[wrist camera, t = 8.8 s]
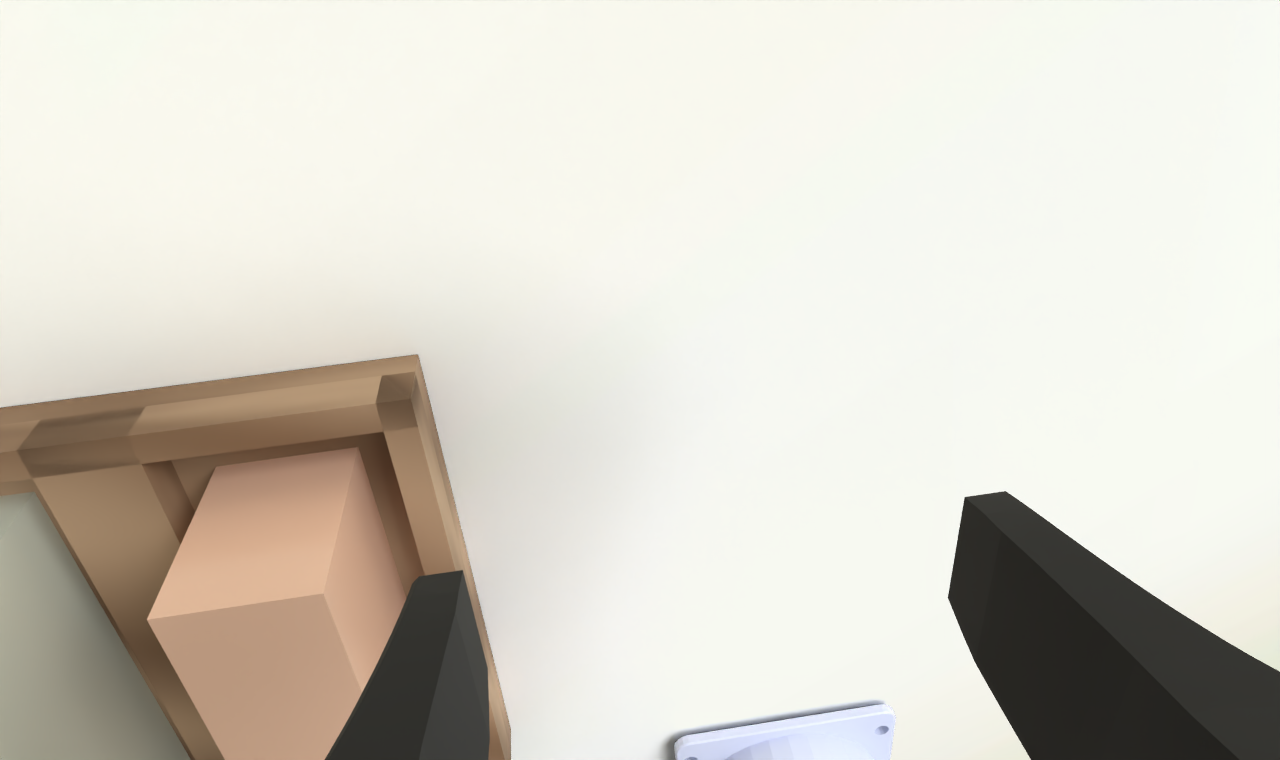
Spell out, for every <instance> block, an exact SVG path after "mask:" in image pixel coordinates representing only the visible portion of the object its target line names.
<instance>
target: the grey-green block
mask: <svg viewBox="0 0 1280 760" xmlns="http://www.w3.org/2000/svg"><path fill="white" fill-rule="evenodd" d="M0 760H191V759H190V757H189V756H188V754H187V752H186V750H185V749H184V747H183V745H182V744H181V742H180V740H179V738H178V737H177V735H176V733H175V732H174V730H173V728H172V726H171V725H170V723H169V721H168V720H167V718H166V716H165V714H164V713H163V711H162V709H161V708H160V706H159V704H158V702H157V701H156V699H155V697H154V696H153V694H152V692H151V691H150V689H149V687H148V685H147V684H146V682H145V680H144V679H143V677H142V675H141V673H140V672H139V670H138V668H137V667H136V665H135V663H134V661H133V660H132V658H131V656H130V655H129V653H128V651H127V649H126V648H125V646H124V644H123V643H122V641H121V639H120V637H119V636H118V634H117V632H116V631H115V629H114V627H113V625H112V624H111V622H110V620H109V619H108V617H107V615H106V613H105V612H104V610H103V608H102V607H101V605H100V603H99V601H98V600H97V598H96V596H95V595H94V593H93V591H92V589H91V588H90V586H89V584H88V583H87V581H86V579H85V577H84V576H83V574H82V572H81V571H80V569H79V567H78V565H77V564H76V562H75V560H74V559H73V557H72V555H71V553H70V552H69V550H68V548H67V547H66V545H65V543H64V541H63V540H62V538H61V536H60V535H59V533H58V531H57V529H56V528H55V526H54V524H53V523H52V521H51V519H50V517H49V516H48V514H47V512H46V511H45V509H44V507H43V505H42V504H41V502H40V500H39V499H38V497H37V495H36V493H35V492H28V493H20V494H13V495H5V496H0Z"/></svg>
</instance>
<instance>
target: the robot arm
mask: <svg viewBox="0 0 1280 760" xmlns="http://www.w3.org/2000/svg"><path fill="white" fill-rule="evenodd" d="M948 599H949V601H950V604H951V606H952V609H953V611H954V614H955V616H956V619H957V621H958V624H959V626H960V629H961V631H962V633H963V636H964V638H965V640H966V643H967V645H968V647H969V649H970V652H971V654H972V656H973V659H974V661H975V663H976V665H977V667H978V668H979V670H980V672H981V674H982V676H983V677H984V679H985V681H986V683H987V684H988V686H989V688H990V690H991V691H992V693H993V695H994V697H995V698H996V700H997V702H998V704H999V705H1000V707H1001V709H1002V711H1003V712H1004V714H1005V716H1006V717H1007V719H1008V721H1009V723H1010V724H1011V726H1012V728H1013V729H1014V731H1015V733H1016V735H1017V736H1018V738H1019V740H1020V741H1021V743H1022V745H1023V747H1024V748H1025V750H1026V752H1027V753H1028V755H1029V757H1030V759H1031V760H1280V672H1279V671H1277V670H1276V669H1274V668H1272V667H1270V666H1268V665H1266V664H1265V663H1263V662H1261V661H1259V660H1257V659H1255V658H1254V657H1252V656H1250V655H1248V654H1247V653H1245V652H1243V651H1242V650H1240V649H1238V648H1236V647H1235V646H1233V645H1231V644H1230V643H1228V642H1226V641H1224V640H1223V639H1221V638H1220V637H1218V636H1216V635H1215V634H1213V633H1212V632H1210V631H1208V630H1207V629H1205V628H1203V627H1202V626H1200V625H1199V624H1197V623H1195V622H1194V621H1192V620H1191V619H1189V618H1187V617H1186V616H1184V615H1183V614H1181V613H1179V612H1178V611H1176V610H1175V609H1173V608H1172V607H1170V606H1169V605H1167V604H1166V603H1164V602H1162V601H1161V600H1159V599H1158V598H1156V597H1155V596H1153V595H1152V594H1150V593H1149V592H1147V591H1146V590H1144V589H1143V588H1141V587H1140V586H1138V585H1137V584H1136V583H1134V582H1133V581H1131V580H1130V579H1128V578H1127V577H1125V576H1124V575H1122V574H1121V573H1120V572H1118V571H1117V570H1115V569H1114V568H1112V567H1111V566H1109V565H1108V564H1107V563H1105V562H1104V561H1102V560H1101V559H1100V558H1098V557H1097V556H1095V555H1094V554H1093V553H1091V552H1090V551H1088V550H1087V549H1086V548H1084V547H1083V546H1081V545H1080V544H1079V543H1077V542H1076V541H1074V540H1073V539H1072V538H1070V537H1069V536H1068V535H1066V534H1065V533H1063V532H1062V531H1061V530H1059V529H1058V528H1056V527H1055V526H1054V525H1052V524H1051V523H1050V522H1048V521H1047V520H1045V519H1044V518H1043V517H1041V516H1040V515H1039V514H1037V513H1036V512H1034V511H1033V510H1032V509H1030V508H1029V507H1027V506H1026V505H1025V504H1023V503H1022V502H1020V501H1019V500H1018V499H1016V498H1015V497H1013V496H1012V495H1010V494H1009V493H1007V492H1006V491H1004V492H998V493H991V494H984V495H977V496H970V497H965V499H964V505H963V511H962V517H961V523H960V529H959V535H958V541H957V547H956V553H955V559H954V565H953V571H952V577H951V583H950V589H949V595H948ZM895 721H896V717H895V714H894V711H893V709H892V707H890V706H889V705H886V704H879V705H872V706H866V707H860V708H854V709H848V710H841V711H835V712H829V713H823V714H816V715H810V716H804V717H798V718H791V719H785V720H779V721H773V722H767V723H760V724H754V725H748V726H742V727H735V728H729V729H723V730H717V731H710V732H704V733H698V734H692V735H686V736H683V737H681V738H679V739H678V740H677V741H676V742H675V745H674V749H675V760H890V757H891V750H892V743H893V735H894V728H895ZM489 743H490V726H489V689H488V667H487V663H486V659H485V655H484V651H483V647H482V643H481V639H480V635H479V631H478V628H477V624H476V620H475V616H474V612H473V608H472V604H471V600H470V596H469V592H468V588H467V584H466V580H465V576H464V572H463V570H459V571H453V572H446V573H439V574H432V575H425V576H419V577H418V578H417V579H416V580H415V581H414V582H413V583H412V586H411V588H410V591H409V593H408V596H407V598H406V601H405V603H404V606H403V608H402V610H401V613H400V615H399V617H398V620H397V622H396V624H395V626H394V629H393V631H392V633H391V635H390V637H389V640H388V642H387V644H386V646H385V648H384V650H383V652H382V654H381V656H380V659H379V661H378V663H377V665H376V667H375V669H374V671H373V672H372V674H371V676H370V678H369V680H368V682H367V684H366V686H365V688H364V690H363V692H362V694H361V696H360V698H359V700H358V702H357V703H356V705H355V707H354V709H353V711H352V713H351V715H350V717H349V718H348V720H347V722H346V724H345V726H344V727H343V729H342V731H341V732H340V734H339V736H338V738H337V739H336V741H335V743H334V744H333V746H332V748H331V750H330V751H329V753H328V755H327V756H326V758H325V760H488V757H489Z"/></svg>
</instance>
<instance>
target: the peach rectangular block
mask: <svg viewBox="0 0 1280 760" xmlns="http://www.w3.org/2000/svg"><path fill="white" fill-rule="evenodd" d="M405 601H406V596H405V592H404V589H403V586H402V583H401V580H400V577H399V574H398V571H397V567H396V564H395V561H394V558H393V555H392V552H391V549H390V545H389V542H388V539H387V536H386V533H385V530H384V527H383V523H382V520H381V517H380V514H379V511H378V508H377V505H376V501H375V498H374V495H373V492H372V489H371V486H370V483H369V479H368V476H367V473H366V470H365V467H364V464H363V461H362V457H361V454H360V451H359V448H358V447H355V448H347V449H340V450H333V451H326V452H319V453H311V454H304V455H297V456H290V457H283V458H275V459H268V460H261V461H254V462H247V463H239V464H232V465H225V466H218V467H216V468H215V470H214V472H213V474H212V477H211V479H210V481H209V483H208V485H207V488H206V490H205V492H204V494H203V497H202V499H201V501H200V503H199V505H198V508H197V510H196V512H195V514H194V516H193V519H192V521H191V523H190V525H189V527H188V530H187V532H186V534H185V536H184V539H183V541H182V543H181V545H180V547H179V550H178V552H177V554H176V556H175V558H174V561H173V563H172V565H171V567H170V570H169V572H168V574H167V576H166V578H165V581H164V583H163V585H162V587H161V589H160V592H159V594H158V596H157V598H156V600H155V603H154V605H153V607H152V609H151V612H150V614H149V616H148V618H147V621H148V623H149V625H150V626H151V628H152V630H153V632H154V634H155V635H156V637H157V639H158V641H159V643H160V644H161V646H162V648H163V650H164V652H165V653H166V655H167V657H168V659H169V660H170V662H171V664H172V666H173V668H174V669H175V671H176V673H177V675H178V677H179V678H180V680H181V682H182V684H183V686H184V687H185V689H186V691H187V693H188V695H189V696H190V698H191V700H192V702H193V703H194V705H195V707H196V709H197V711H198V712H199V714H200V716H201V718H202V720H203V721H204V723H205V725H206V727H207V729H208V730H209V732H210V734H211V736H212V737H213V739H214V741H215V743H216V745H217V746H218V748H219V750H220V752H221V754H222V755H223V757H224V759H225V760H325V758H326V756H327V755H328V753H329V751H330V750H331V748H332V746H333V744H334V743H335V741H336V739H337V738H338V736H339V734H340V732H341V731H342V729H343V727H344V726H345V724H346V722H347V720H348V718H349V717H350V715H351V713H352V711H353V709H354V707H355V705H356V703H357V702H358V700H359V698H360V696H361V694H362V692H363V690H364V688H365V686H366V684H367V682H368V680H369V678H370V676H371V674H372V672H373V671H374V669H375V667H376V665H377V663H378V661H379V659H380V656H381V654H382V652H383V650H384V648H385V646H386V644H387V642H388V640H389V637H390V635H391V633H392V631H393V629H394V626H395V624H396V622H397V620H398V617H399V615H400V613H401V610H402V608H403V606H404V603H405Z"/></svg>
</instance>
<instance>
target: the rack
mask: <svg viewBox="0 0 1280 760" xmlns="http://www.w3.org/2000/svg"><path fill="white" fill-rule="evenodd" d="M355 447H358V448H359V451H360V454H361V457H362V461H363V464H364V467H365V470H366V473H367V476H368V479H369V483H370V486H371V489H372V492H373V495H374V498H375V501H376V505H377V508H378V511H379V514H380V517H381V520H382V523H383V527H384V530H385V533H386V536H387V539H388V542H389V545H390V549H391V552H392V555H393V558H394V561H395V564H396V567H397V571H398V574H399V577H400V580H401V583H402V586H403V589H404V592H405V596H406V598H407V596H408V593H409V591H410V588H411V586H412V583H413V582H414V581H415V580H416V579H417V578H418V577H419V576H425V575H432V574H439V573H446V572H453V571H459V570H463V572H464V576H465V580H466V584H467V588H468V592H469V596H470V600H471V604H472V608H473V612H474V616H475V620H476V624H477V628H478V631H479V635H480V639H481V643H482V647H483V651H484V655H485V659H486V663H487V667H488V689H489V726H490V743H489V757H488V760H511V729H510V725H509V720H508V716H507V712H506V708H505V704H504V700H503V696H502V692H501V688H500V684H499V680H498V676H497V672H496V668H495V664H494V660H493V656H492V652H491V648H490V644H489V640H488V635H487V631H486V627H485V623H484V619H483V615H482V611H481V607H480V603H479V599H478V595H477V591H476V587H475V583H474V579H473V575H472V571H471V567H470V563H469V559H468V555H467V550H466V546H465V542H464V538H463V534H462V530H461V526H460V522H459V518H458V514H457V510H456V506H455V502H454V498H453V494H452V490H451V486H450V482H449V478H448V474H447V470H446V465H445V461H444V457H443V453H442V449H441V445H440V441H439V437H438V433H437V429H436V425H435V421H434V417H433V413H432V409H431V405H430V401H429V397H428V393H427V389H426V385H425V380H424V376H423V372H422V368H421V364H420V360H419V356H418V355H411V356H403V357H395V358H387V359H379V360H372V361H364V362H356V363H348V364H340V365H333V366H325V367H317V368H309V369H301V370H293V371H286V372H278V373H270V374H262V375H254V376H247V377H239V378H231V379H223V380H215V381H207V382H200V383H192V384H184V385H176V386H168V387H160V388H153V389H145V390H137V391H129V392H121V393H114V394H106V395H98V396H90V397H82V398H74V399H67V400H59V401H51V402H43V403H35V404H28V405H20V406H12V407H4V408H0V496H5V495H13V494H20V493H28V492H35V493H36V495H37V497H38V499H39V500H40V502H41V504H42V505H43V507H44V509H45V511H46V512H47V514H48V516H49V517H50V519H51V521H52V523H53V524H54V526H55V528H56V529H57V531H58V533H59V535H60V536H61V538H62V540H63V541H64V543H65V545H66V547H67V548H68V550H69V552H70V553H71V555H72V557H73V559H74V560H75V562H76V564H77V565H78V567H79V569H80V571H81V572H82V574H83V576H84V577H85V579H86V581H87V583H88V584H89V586H90V588H91V589H92V591H93V593H94V595H95V596H96V598H97V600H98V601H99V603H100V605H101V607H102V608H103V610H104V612H105V613H106V615H107V617H108V619H109V620H110V622H111V624H112V625H113V627H114V629H115V631H116V632H117V634H118V636H119V637H120V639H121V641H122V643H123V644H124V646H125V648H126V649H127V651H128V653H129V655H130V656H131V658H132V660H133V661H134V663H135V665H136V667H137V668H138V670H139V672H140V673H141V675H142V677H143V679H144V680H145V682H146V684H147V685H148V687H149V689H150V691H151V692H152V694H153V696H154V697H155V699H156V701H157V702H158V704H159V706H160V708H161V709H162V711H163V713H164V714H165V716H166V718H167V720H168V721H169V723H170V725H171V726H172V728H173V730H174V732H175V733H176V735H177V737H178V738H179V740H180V742H181V744H182V745H183V747H184V749H185V750H186V752H187V754H188V756H189V757H190V759H191V760H225V759H224V757H223V755H222V754H221V752H220V750H219V748H218V746H217V745H216V743H215V741H214V739H213V737H212V736H211V734H210V732H209V730H208V729H207V727H206V725H205V723H204V721H203V720H202V718H201V716H200V714H199V712H198V711H197V709H196V707H195V705H194V703H193V702H192V700H191V698H190V696H189V695H188V693H187V691H186V689H185V687H184V686H183V684H182V682H181V680H180V678H179V677H178V675H177V673H176V671H175V669H174V668H173V666H172V664H171V662H170V660H169V659H168V657H167V655H166V653H165V652H164V650H163V648H162V646H161V644H160V643H159V641H158V639H157V637H156V635H155V634H154V632H153V630H152V628H151V626H150V625H149V623H148V621H147V618H148V616H149V614H150V612H151V609H152V607H153V605H154V603H155V600H156V598H157V596H158V594H159V592H160V589H161V587H162V585H163V583H164V581H165V578H166V576H167V574H168V572H169V570H170V567H171V565H172V563H173V561H174V558H175V556H176V554H177V552H178V550H179V547H180V545H181V543H182V541H183V539H184V536H185V534H186V532H187V530H188V527H189V525H190V523H191V521H192V519H193V516H194V514H195V512H196V510H197V508H198V505H199V503H200V501H201V499H202V497H203V494H204V492H205V490H206V488H207V485H208V483H209V481H210V479H211V477H212V474H213V472H214V470H215V468H216V467H218V466H225V465H232V464H239V463H247V462H254V461H261V460H268V459H275V458H283V457H290V456H297V455H304V454H311V453H319V452H326V451H333V450H340V449H347V448H355Z"/></svg>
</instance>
